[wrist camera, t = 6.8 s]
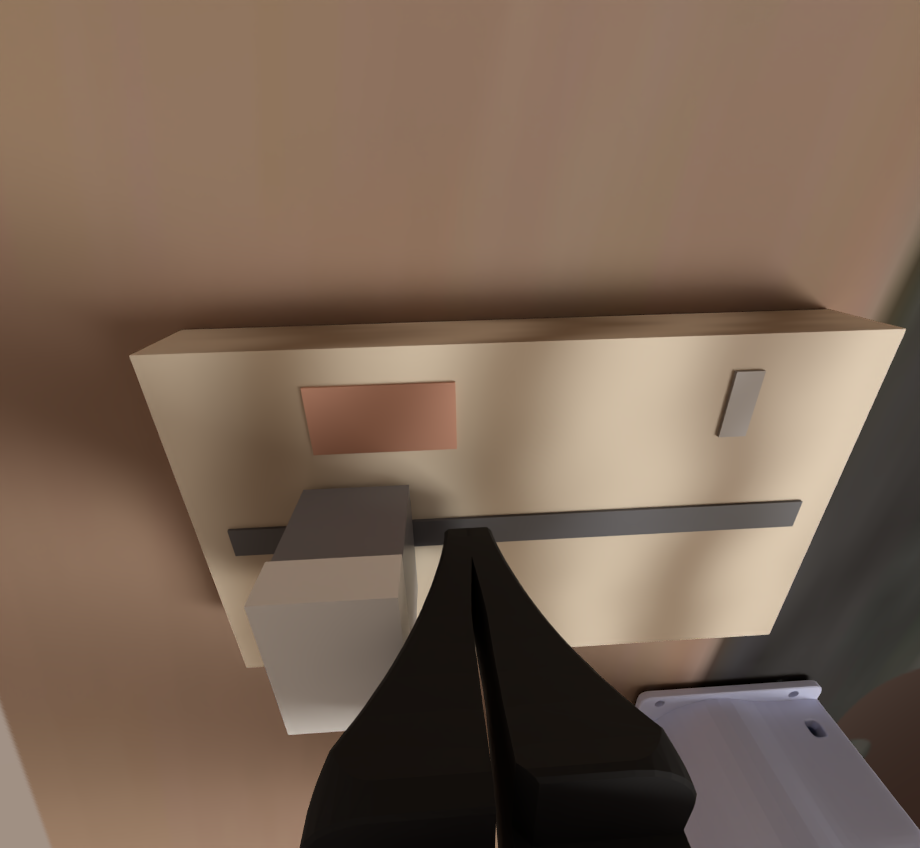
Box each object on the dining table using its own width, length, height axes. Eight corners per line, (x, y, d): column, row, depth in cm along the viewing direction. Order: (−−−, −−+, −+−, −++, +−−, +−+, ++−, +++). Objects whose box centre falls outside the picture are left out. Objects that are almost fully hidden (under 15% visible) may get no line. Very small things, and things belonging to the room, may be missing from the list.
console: (828, 309, 14) (910, 329, 11) (729, 584, 19) (770, 636, 17) (181, 329, 13) (126, 356, 11) (269, 611, 18) (245, 670, 16)
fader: (408, 479, 12) (398, 597, 9) (418, 590, 14) (412, 726, 11) (301, 483, 12) (244, 606, 8) (326, 595, 14) (288, 735, 10)
